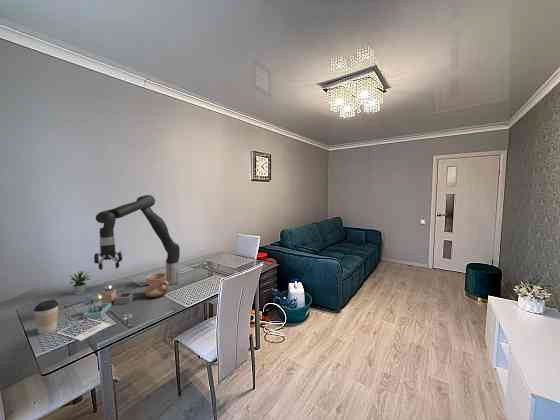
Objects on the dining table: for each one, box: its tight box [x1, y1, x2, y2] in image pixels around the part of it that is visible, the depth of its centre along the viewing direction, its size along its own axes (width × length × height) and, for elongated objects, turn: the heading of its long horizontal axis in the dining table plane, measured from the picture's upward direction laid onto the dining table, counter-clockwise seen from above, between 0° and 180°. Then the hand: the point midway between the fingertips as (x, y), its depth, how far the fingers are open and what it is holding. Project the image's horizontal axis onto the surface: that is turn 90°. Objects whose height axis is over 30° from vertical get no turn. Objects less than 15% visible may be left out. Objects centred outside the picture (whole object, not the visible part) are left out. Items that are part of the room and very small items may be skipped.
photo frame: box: [56, 318, 111, 342], centre depth 121 cm, size 15×1×18 cm
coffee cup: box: [33, 299, 60, 335], centre depth 119 cm, size 9×9×15 cm
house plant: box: [66, 270, 94, 295], centre depth 162 cm, size 14×14×16 cm
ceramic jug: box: [144, 272, 170, 298], centre depth 163 cm, size 18×14×14 cm
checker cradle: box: [113, 291, 136, 306], centre depth 154 cm, size 9×13×5 cm
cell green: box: [92, 293, 103, 313], centre depth 138 cm, size 4×4×11 cm
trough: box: [82, 302, 112, 320], centre depth 138 cm, size 9×13×3 cm
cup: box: [100, 289, 117, 303], centre depth 152 cm, size 7×7×6 cm
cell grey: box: [103, 283, 113, 295], centre depth 152 cm, size 4×4×11 cm
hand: (109, 268), depth 145 cm, fingers open, 8 cm apart
